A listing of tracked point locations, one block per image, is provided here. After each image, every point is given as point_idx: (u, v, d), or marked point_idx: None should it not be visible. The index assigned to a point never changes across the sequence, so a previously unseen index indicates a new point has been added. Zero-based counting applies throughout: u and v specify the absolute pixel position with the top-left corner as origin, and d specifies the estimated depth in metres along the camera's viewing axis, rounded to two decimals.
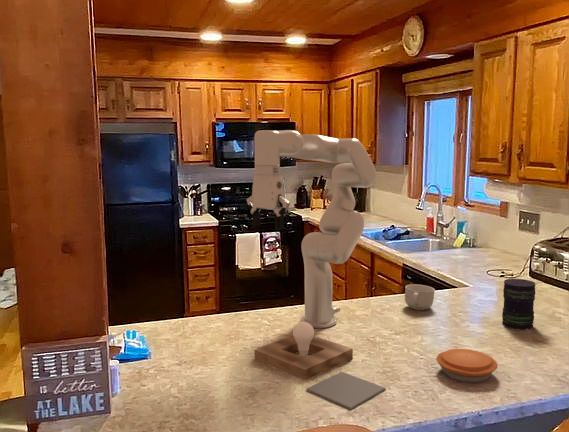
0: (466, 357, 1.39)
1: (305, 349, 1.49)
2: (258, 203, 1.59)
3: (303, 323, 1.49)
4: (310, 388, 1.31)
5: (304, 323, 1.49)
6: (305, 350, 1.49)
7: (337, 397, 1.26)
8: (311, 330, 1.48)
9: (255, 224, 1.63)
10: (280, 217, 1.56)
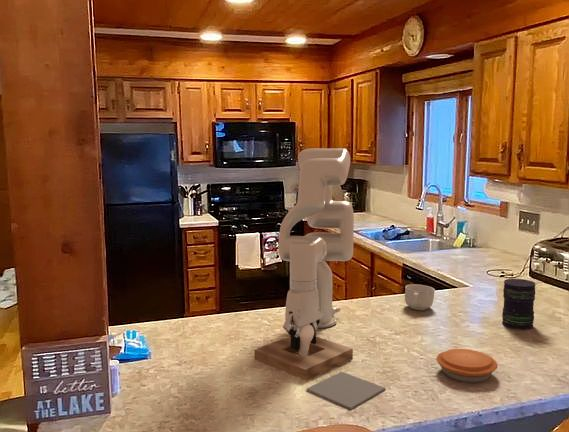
0: (466, 357, 1.39)
1: (305, 349, 1.49)
2: (304, 320, 1.47)
3: None
4: (310, 388, 1.31)
5: None
6: (305, 350, 1.49)
7: (337, 397, 1.26)
8: (311, 330, 1.48)
9: None
10: None
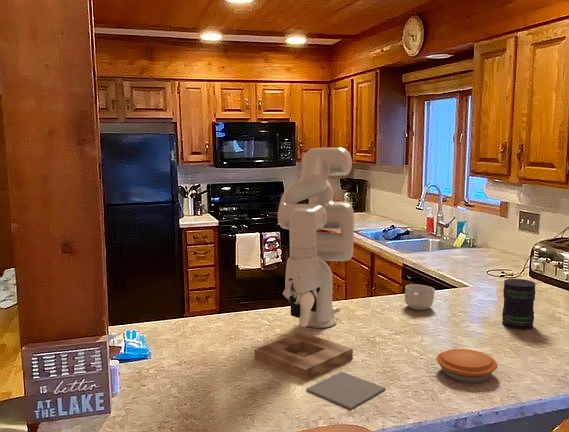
0: (466, 357, 1.39)
1: (305, 317, 1.48)
2: (304, 288, 1.46)
3: None
4: (310, 388, 1.31)
5: None
6: (305, 318, 1.49)
7: (337, 397, 1.26)
8: (311, 297, 1.47)
9: None
10: None
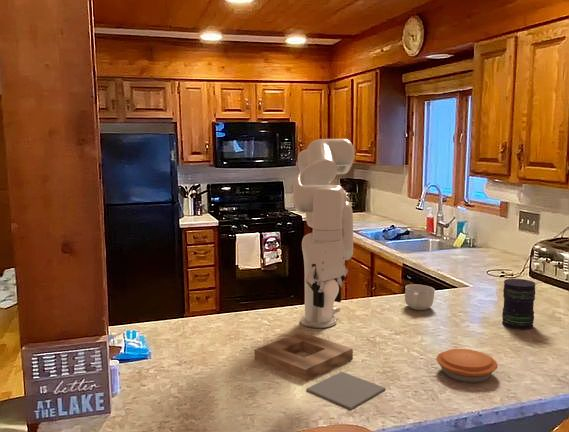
0: (466, 357, 1.39)
1: (329, 307, 1.35)
2: (329, 274, 1.33)
3: None
4: (310, 388, 1.31)
5: None
6: (329, 308, 1.35)
7: (337, 397, 1.26)
8: (336, 285, 1.34)
9: None
10: None
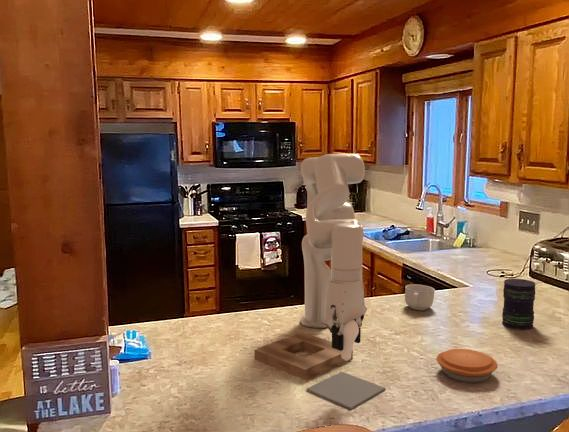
0: (466, 357, 1.39)
1: (348, 349, 1.28)
2: (349, 316, 1.26)
3: None
4: (310, 388, 1.31)
5: None
6: (348, 350, 1.28)
7: (337, 397, 1.26)
8: (356, 327, 1.28)
9: None
10: None
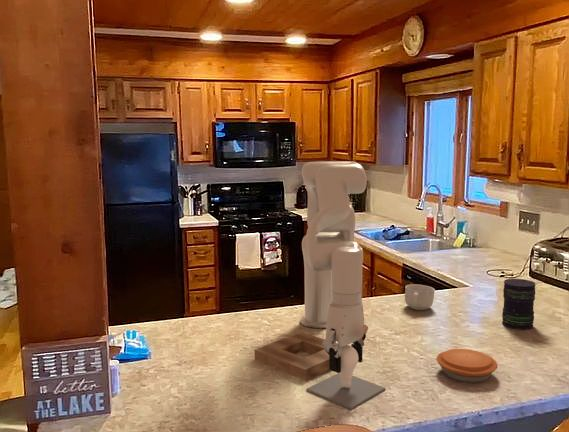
0: (466, 357, 1.39)
1: (348, 377, 1.30)
2: (348, 339, 1.27)
3: (346, 347, 1.29)
4: (310, 388, 1.31)
5: (347, 347, 1.29)
6: (348, 378, 1.30)
7: (337, 397, 1.26)
8: (355, 355, 1.29)
9: None
10: None
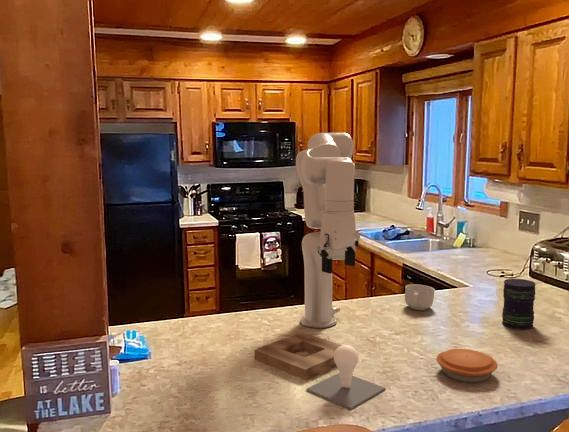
0: (466, 357, 1.39)
1: (348, 377, 1.30)
2: (341, 244, 1.38)
3: (346, 347, 1.30)
4: (310, 388, 1.31)
5: (347, 347, 1.30)
6: (348, 378, 1.30)
7: (337, 397, 1.26)
8: (356, 355, 1.29)
9: None
10: None
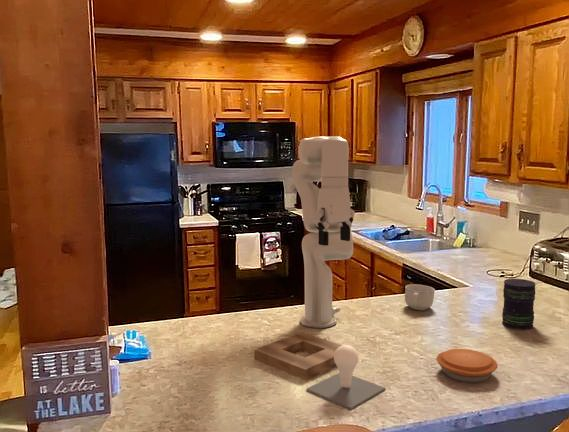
0: (466, 357, 1.39)
1: (348, 377, 1.30)
2: (336, 218, 1.47)
3: (346, 347, 1.30)
4: (310, 388, 1.31)
5: (347, 347, 1.30)
6: (348, 378, 1.30)
7: (337, 397, 1.26)
8: (356, 355, 1.29)
9: None
10: None
